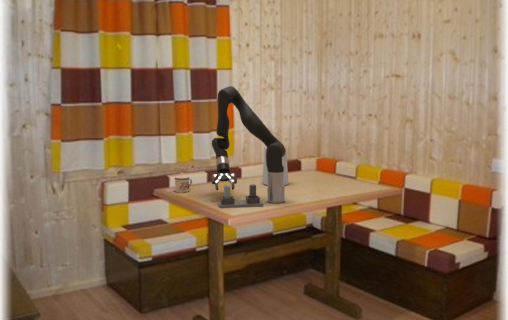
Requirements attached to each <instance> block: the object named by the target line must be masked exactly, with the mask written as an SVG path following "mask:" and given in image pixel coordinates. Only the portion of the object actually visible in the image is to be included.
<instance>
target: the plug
mask: <svg viewBox="0 0 508 320" xmlns="http://www.w3.org/2000/svg"><path fill="white" fill-rule="evenodd" d="M223 196H224V199H231V197H230V196H231V185H230V184H229V185H228V184H226V185H225V184H224V186H223Z"/></svg>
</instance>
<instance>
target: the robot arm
mask: <svg viewBox="0 0 508 320" xmlns="http://www.w3.org/2000/svg"><path fill="white" fill-rule="evenodd" d="M230 104H233V106H234V107H235V108H236V109H237V112H238V113H239V118H240V120H241V123H242V125H243V127H244V128H246V130H247V131H248V132H249V133H250V134H251V135H253V136H254V137H255V138H257V140H259V141H261V142H262V143H263V144H264V145H265V147H267V150H266V166H267V185H266V186H267V188H266V189H267V191H266V194H267V197H266V201H267V202H268V203H272V204H281V203H285V201H286V200H285V199H286V197H285V194H286V193H285V189H286V188H285V187H286V186H285V185H284V167H283V165H282V157H283V156H284V155H285V152H286V150H287V149H286V150H285V147H286V146H285V145H284V144H283V143H282V142H281V141H280V140H279V139H278V138H277V137H276V136H275V135H274V134H273V133H272V132H271V131H270V130H269V128H268V127H267V126H266V125H265V124H264V122H263V121H262V120H261V118H259V116H258V115H257V114H256V113H255V112H254V111H253V109H252V108H251V107H250V106H249V104H248V103H247V102H246V101H245V99H244V98H243V96H242V94H241V93H240V92H239V91H238V89H236V87H234V86H231V85H230V86H226V87H224V88H222V89H220V90H219V91H218V92H217V124H216V125H217V126H216V135H217V136H218V137H214V138H213V139H212V140H211V147H212V149H213V151H214V154H215V160H216V162H215V167H216V174H215V173H211V185H214V187H215V190H216V191H219V184H220V183H221V182H227V183H230V184H231V185H230V187H231V190H232V191H233V190H234V189H235V184H237V183H238V178H237V173H236V172H233V173H231V169H230V168H231V167H230V161H229V155H228V151H227V150H228V149H229V148H230V137H229V130H230V118H229V115H228V108H229V105H230ZM215 178H217V179H216V180H215Z"/></svg>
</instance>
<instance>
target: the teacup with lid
mask: <svg viewBox="0 0 508 320" xmlns="http://www.w3.org/2000/svg"><path fill="white" fill-rule="evenodd" d="M192 184H193V180H192V178H190V176H189V175H186V174H185V173H184V172H180V174H177V175H176V176H175V177H174V187H175V188H174V190H175V192H176V193H178V192H185V193H188V191H189V192H190V187H191V186H192Z"/></svg>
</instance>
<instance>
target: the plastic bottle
mask: <svg viewBox="0 0 508 320" xmlns="http://www.w3.org/2000/svg"><path fill="white" fill-rule="evenodd" d="M284 147H285V150H286V152H285V155H284V156H283V157H282V165H283V167H284V185H285V187H286V186H288V184H289V172H288V171H289V170H288V155H287V154H288V152H287V147H286V146H284ZM266 150H267V147H266V146H264V151H263V153H264V154H263V166H262V178H261V179H262V181H261V182H262V184H263V185H264V186H267V166H266Z"/></svg>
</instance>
